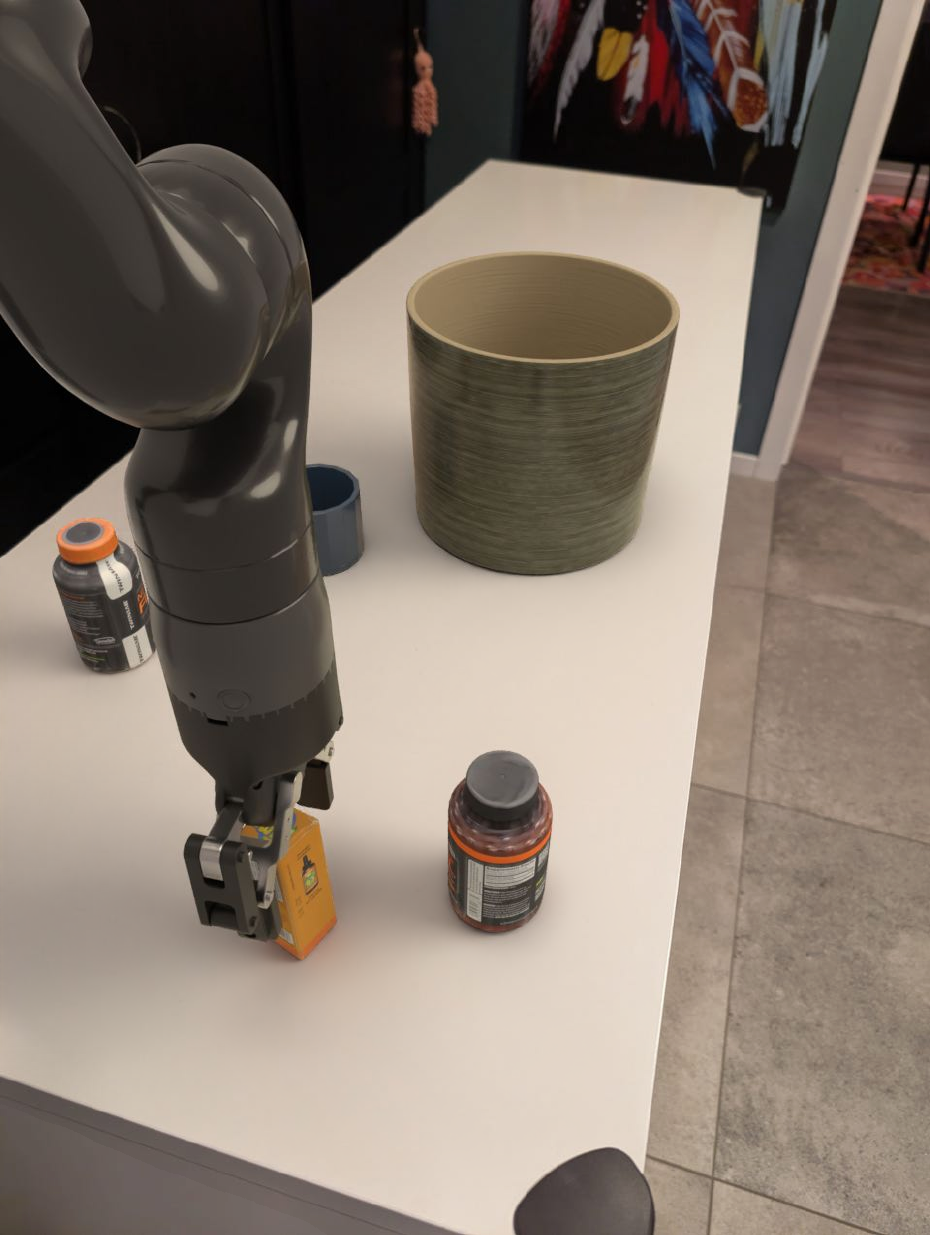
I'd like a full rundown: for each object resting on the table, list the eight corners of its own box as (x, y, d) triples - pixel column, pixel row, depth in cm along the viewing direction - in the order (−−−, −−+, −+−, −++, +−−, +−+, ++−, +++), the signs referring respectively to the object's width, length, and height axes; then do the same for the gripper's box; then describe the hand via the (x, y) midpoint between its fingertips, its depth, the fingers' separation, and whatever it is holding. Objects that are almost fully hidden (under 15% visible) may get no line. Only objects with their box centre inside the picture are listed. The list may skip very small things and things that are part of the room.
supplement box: (296, 894, 59) (278, 790, 52) (339, 923, 58) (325, 820, 51) (257, 933, 57) (233, 831, 50) (301, 965, 55) (281, 863, 49)
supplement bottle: (449, 851, 62) (450, 732, 54) (542, 854, 61) (555, 735, 54) (445, 935, 57) (445, 818, 50) (545, 939, 57) (560, 822, 50)
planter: (371, 544, 86) (358, 331, 73) (462, 429, 102) (465, 236, 89) (610, 605, 80) (643, 385, 67) (668, 473, 96) (704, 273, 83)
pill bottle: (170, 656, 75) (140, 539, 67) (94, 686, 72) (54, 567, 65) (143, 614, 78) (111, 499, 71) (70, 641, 76) (29, 524, 69)
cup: (262, 569, 83) (252, 507, 79) (293, 519, 89) (285, 458, 85) (348, 582, 82) (343, 520, 78) (374, 530, 88) (370, 470, 84)
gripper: (232, 544, 48) (271, 756, 59) (90, 755, 38) (170, 967, 48) (375, 565, 47) (389, 777, 58) (270, 788, 37) (311, 998, 47)
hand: (289, 864), depth 53 cm, fingers open, 8 cm apart
